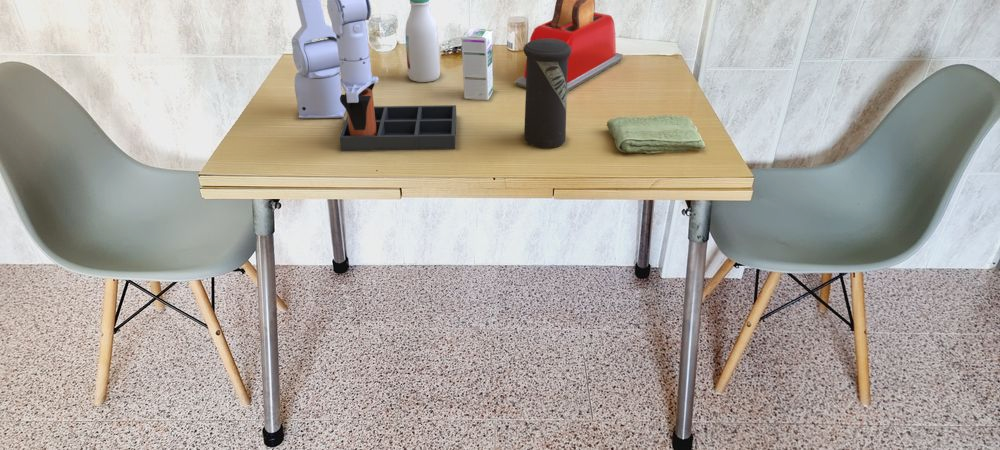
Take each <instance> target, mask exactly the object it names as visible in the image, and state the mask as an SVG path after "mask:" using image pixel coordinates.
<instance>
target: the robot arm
mask: <svg viewBox="0 0 1000 450" xmlns="http://www.w3.org/2000/svg"><path fill="white" fill-rule="evenodd" d="M295 4H296V7H297V11H298V12H297V13H298V17H299V21H300V24H301V27H300V28H299V29H298V30H297V32H296V33H294V35H293V36H292V38H291V48H292V59H293V63H294V65H295V66H294V67H295V68H296V70H297V72H296V73H295V76H294V92H295V98H296V104H297V111H298V119H342V118H344V116H345V113H347V112H348V114H349V117H350V120H351V122H352V125H353V128H354V130H365V127H366V117H367V107H368V103H369V101H370V98H371V96H362V94H361V95H360V93H361V92H362V91H363V90H364V89H366V88H369V89H371V90H372V91H373V90H374V87H375V85H376V84H378V83H379V77H378V76H373V75H372V66H371V54H370V45H369V35H368V34H369V33H368V26H367V25H368V24H367V21H369V20H370V18H371V15H372V7H371V1H370V0H327V1H326V9H327V13H328V16H329V19H330V22H331V26H330V24H327V23H326V20H325V15H324V9H323V7H322V2H321V0H295ZM324 38H325V39H324ZM319 39H321V40H319ZM313 40H315V41H313ZM309 41H310V42H309ZM343 90H344V91H345V92H346V94H345V93H344V94H343Z"/></svg>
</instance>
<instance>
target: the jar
mask: <svg viewBox="0 0 1000 450" xmlns="http://www.w3.org/2000/svg"><path fill="white" fill-rule="evenodd" d="M344 94H346V91H345V92H344ZM361 94H362V96H371V98H370V101H369V103H368V107H367V117H366V127H365V130H354V128H353V125H352V122H351V120H350V117H349V114H348V112H347V111H346V117H347V116H348V124H349V132H350V136H376V135H377V133H376V132H377V131H376V121H375V111H374V106H375V103H374V102H375V101H374V93H373V90H371V89H369V88H366V89H364V90H363V91H362V92H361V93H360V95H361Z"/></svg>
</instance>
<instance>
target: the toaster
mask: <svg viewBox="0 0 1000 450" xmlns="http://www.w3.org/2000/svg"><path fill="white" fill-rule="evenodd" d="M595 9H596V1H595V0H556V1H555V5H554V11H553V16H552V19H551V20H549V21H547V22H545V23H544V22H543V23H541V24H540V25H538V26H536V27H535V28H533V31H532V33H531V36H530V38H529V42H530V41H533V40H537V39H558V40H562V41H564V42H566V43H567V44H568V45H570V47H571V50H572V52H571V54H570V56H569V57H568V72H567V93H568V92H570V91H572V90H573V89H576V88H577V87H579V86H580V85H582V84H583V83H585V82H588V81H589V80H591V79H592V78H594V77H596V76H597V75H600V74H601V73H603V72H604V71H606V70H607V69H609V68H612V67H613V66H615V65H617V64H619V62H621V61H622V60H623V56H624V54H623V53H618V52H616V51H617V50H616V49H617V45H616V43H617V42H616V27H615V21H614V18H613V17H612V15H610V14H606V13H600V12H595ZM524 67H525V68H524V74H523V75H522V76H520V77H519V78H517V79H516V80H515V85H516V87H519V88H522V89H523V88H524V89H526V70H527V59H526V61H525V66H524Z"/></svg>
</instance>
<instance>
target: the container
mask: <svg viewBox="0 0 1000 450" xmlns="http://www.w3.org/2000/svg"><path fill="white" fill-rule="evenodd" d="M522 50H523V54H524V55H525V57H526V60H527V70H526V88H525V100H524V101H525V103H524V104H525V105H524V124H523V125H524V127H523V128H524V129H523V139H524V141H525V143H527V144H529V145H530V146H533V147H536V148H541V149H552V148H557V147H560V146H563V145H564V144H565V143H566V134H567V100H568V99H567V98H568V92H567V72H568V57H569V56H570V54H571V52H572V50H571V47H570V45H568V44H567V43H566V42H564V41H562V40H558V39H537V40H533V41H530V40H529V41H528V42H527V43H526V44H524V45H523V49H522Z"/></svg>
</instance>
